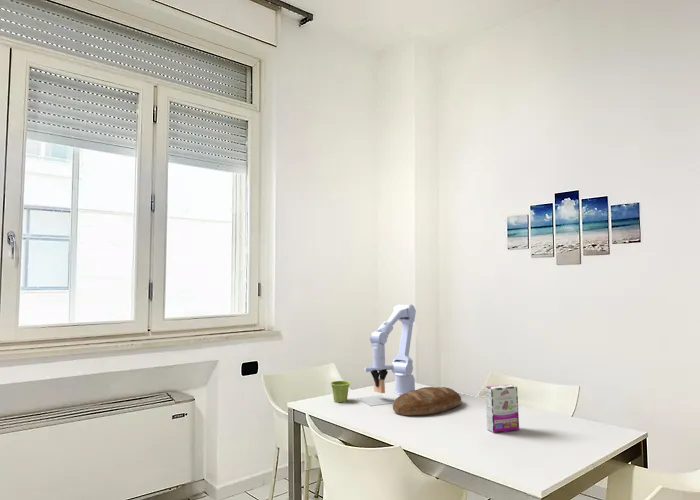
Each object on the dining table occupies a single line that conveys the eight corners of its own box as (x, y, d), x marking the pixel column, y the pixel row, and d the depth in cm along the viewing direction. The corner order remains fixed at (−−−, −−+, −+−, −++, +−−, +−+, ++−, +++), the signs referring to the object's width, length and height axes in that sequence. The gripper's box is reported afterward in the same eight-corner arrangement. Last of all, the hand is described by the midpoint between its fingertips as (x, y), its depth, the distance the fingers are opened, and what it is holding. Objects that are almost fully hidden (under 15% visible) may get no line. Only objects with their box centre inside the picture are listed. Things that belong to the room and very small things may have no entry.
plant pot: (354, 400, 241) (354, 381, 242) (343, 404, 233) (343, 385, 234) (337, 398, 246) (337, 380, 247) (326, 402, 238) (326, 383, 239)
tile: (377, 390, 244) (376, 378, 245) (385, 392, 236) (384, 379, 237) (374, 391, 243) (373, 378, 244) (381, 393, 236) (380, 380, 237)
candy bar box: (512, 426, 196) (510, 383, 197) (519, 430, 191) (518, 386, 192) (486, 429, 193) (484, 385, 194) (493, 433, 188) (491, 388, 189)
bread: (473, 405, 230) (472, 386, 231) (418, 421, 206) (418, 400, 206) (435, 396, 247) (435, 379, 247) (380, 411, 222) (380, 391, 223)
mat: (380, 396, 249) (380, 395, 249) (396, 403, 234) (396, 402, 234) (356, 398, 244) (356, 398, 244) (370, 406, 229) (370, 405, 229)
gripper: (388, 354, 247) (389, 383, 246) (361, 357, 242) (361, 386, 241) (395, 356, 241) (396, 385, 240) (367, 359, 235) (368, 388, 234)
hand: (379, 386), depth 240 cm, fingers closed on tile, 2 cm apart
